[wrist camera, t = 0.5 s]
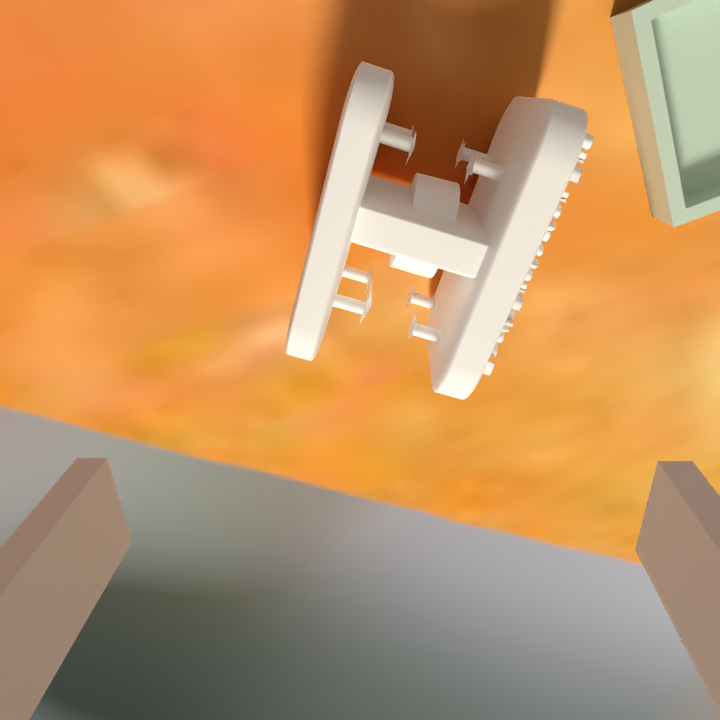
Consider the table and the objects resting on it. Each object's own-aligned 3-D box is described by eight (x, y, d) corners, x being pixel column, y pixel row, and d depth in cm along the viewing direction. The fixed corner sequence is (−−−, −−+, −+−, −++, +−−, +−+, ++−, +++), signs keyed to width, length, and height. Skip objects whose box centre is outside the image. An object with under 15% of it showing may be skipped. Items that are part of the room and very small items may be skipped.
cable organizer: (372, 50, 31) (358, 32, 21) (545, 107, 32) (615, 117, 22) (310, 289, 38) (276, 365, 28) (454, 331, 39) (474, 421, 28)
